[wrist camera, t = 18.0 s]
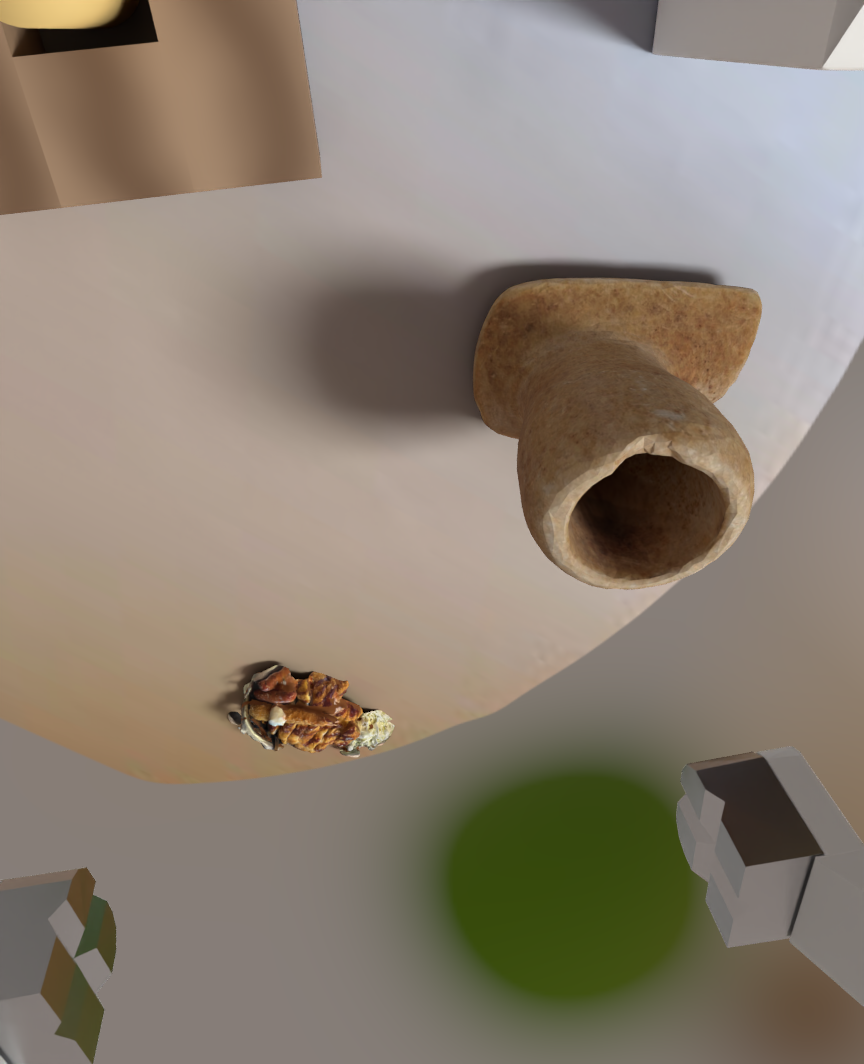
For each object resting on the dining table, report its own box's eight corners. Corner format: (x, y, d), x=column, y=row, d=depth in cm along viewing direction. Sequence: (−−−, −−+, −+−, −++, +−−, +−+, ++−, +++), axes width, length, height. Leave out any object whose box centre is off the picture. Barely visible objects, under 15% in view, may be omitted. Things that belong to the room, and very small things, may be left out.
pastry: (370, 756, 62) (373, 792, 59) (224, 717, 57) (219, 754, 54) (411, 696, 59) (416, 731, 56) (260, 650, 54) (256, 686, 51)
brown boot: (456, 458, 48) (508, 612, 35) (482, 258, 41) (557, 360, 29) (687, 465, 50) (812, 612, 38) (745, 278, 44) (919, 379, 31)
